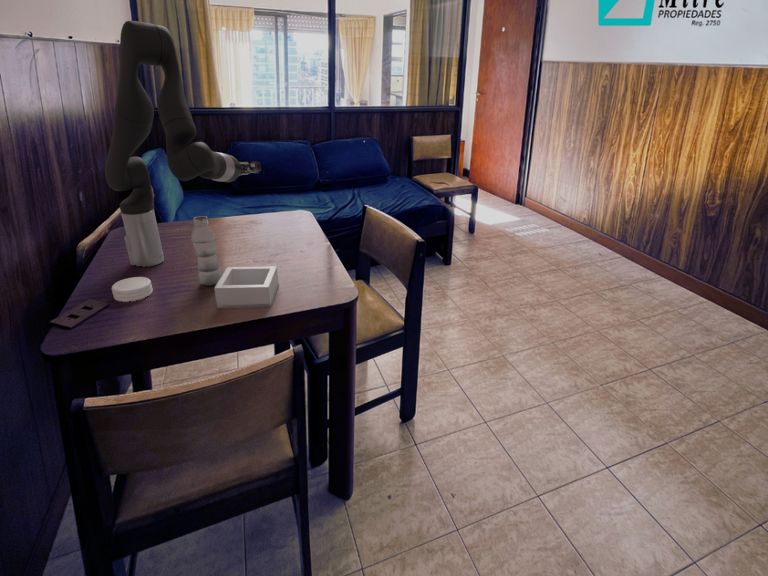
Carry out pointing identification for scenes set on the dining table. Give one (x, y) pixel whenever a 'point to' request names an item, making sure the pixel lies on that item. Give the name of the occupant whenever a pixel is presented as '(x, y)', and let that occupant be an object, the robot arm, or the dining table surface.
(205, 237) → the plastic bottle
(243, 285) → the bin
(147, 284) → the coaster
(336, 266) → the dining table surface
